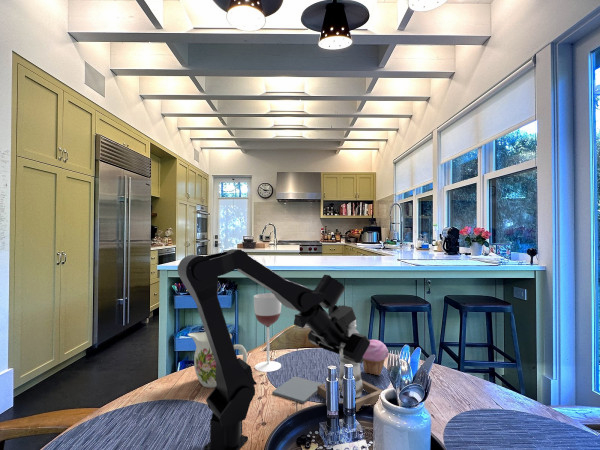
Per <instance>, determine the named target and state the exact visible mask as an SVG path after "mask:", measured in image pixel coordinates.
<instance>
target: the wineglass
mask: <svg viewBox="0 0 600 450" xmlns="http://www.w3.org/2000/svg"><path fill="white" fill-rule="evenodd" d="M253 309H254V314H255V318H256V320H257V321H258V322H259V323H260V324H261V325H263V326H265V327H266V361H261V362H259V363H256V364H255V365H254V369H255V370H257V371H259V372H264V373H265V372H266V373H268V372H270V373H271V372H274V371H275V372H276V371H277V370H279V369H281V368H282V364H281V363H280V362H278V361H274V360H270V326H273V324H275V323H276V322H277V321H278V320H279V318H280V315H281V311H282V303H281V302H280V301H279V300H278V299H277V298H276V297H275V295H274V294H273V293H272V292H265V293H264V292H263V293H257V294H254V295H253Z"/></svg>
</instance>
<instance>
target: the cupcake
mask: <svg viewBox="0 0 600 450" xmlns="http://www.w3.org/2000/svg"><path fill="white" fill-rule="evenodd" d="M369 340H370V345H369V347H368V348H367V350H366V352H365V354H364V356H363V360H364V361H363V362H362V365H363V372H364V373H365V372H366V373H365V374H367V373H370V374H369V375H371V374H374V375H373V376H375V375H380V374H382V370H383V368H384V364H385V360H386V359H387V358H388V357H389V350H388V348H387V346H386V344H384V342H382V341H381V340H379V339H369ZM380 376H381V375H380Z"/></svg>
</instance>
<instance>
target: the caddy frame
mask: <svg viewBox="0 0 600 450" xmlns="http://www.w3.org/2000/svg"><path fill="white" fill-rule="evenodd" d="M337 379H338V380H339V378H337ZM362 384H363V389H364V390H365V391H367V392H368V393H367V392H366V393H367V395H364V396H362V397H361V396H360V397H359V398H357V399H355V400H356V412H359V411H360V410H359V409H360V408H361V406H362V405H364V404H373V405H375V404H377V403H378V402H377V401H378V399H379V395H380V393H381V392H382V391H384V390H383V389H381V388H379V387H377V386H375V385H373V384H372V383H370V382H367V381H365V380H364V379H362ZM317 388H318V392H317V395H319V396H320V397H322V398H324V399H325V400H327V399H326V388H325V383H322V385H319V386H317ZM365 391H364V392H365ZM369 393H370V394H369ZM376 402H377V403H376ZM356 412H355V413H356Z"/></svg>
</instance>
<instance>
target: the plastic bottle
mask: <svg viewBox="0 0 600 450" xmlns="http://www.w3.org/2000/svg"><path fill="white" fill-rule="evenodd" d="M346 328H347V329H348V330H347V332H346V333H344V335H346V336H349V337H350V336H351V335H352V334H353V333H358V334H360V332H359V331H358V330H357V319H356V320H355V321H353V322H351V323H350V324H349V325H348V326H347V327H346ZM343 348H344V345H342V344H341V346H340V347H339V353H340V354H339V375H338V377H339V378H338V379H339V386H340V391H341V392H342V378H343V375H344V365H345V364H352V365H353V374H354V378H355V382H356V385H355V386H356V399H359V398H361V396H362V394H363V384H362V380H363V379H362V375H361V374H362V372H361V363H355V362H353V361H350V360H348V359H345V358H343V357H344V355H343ZM356 399H355V400H356Z"/></svg>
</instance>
